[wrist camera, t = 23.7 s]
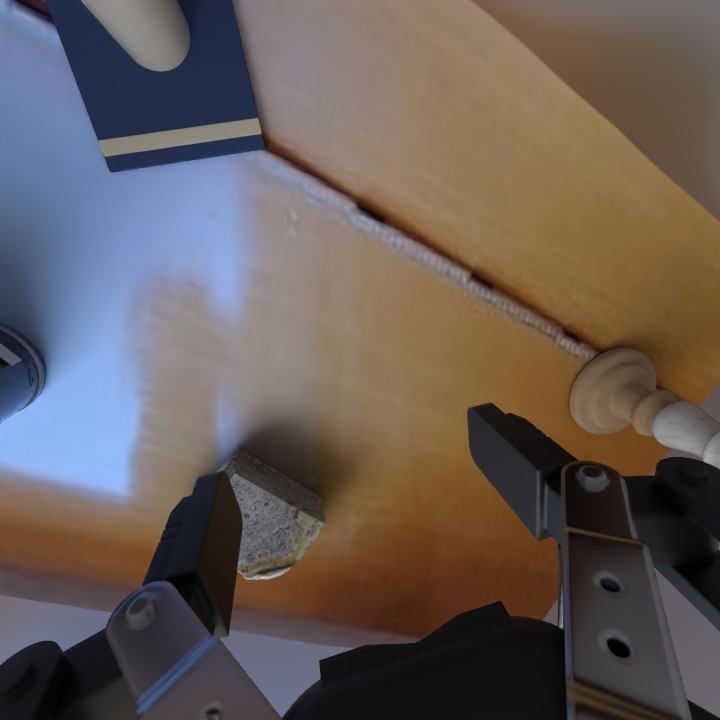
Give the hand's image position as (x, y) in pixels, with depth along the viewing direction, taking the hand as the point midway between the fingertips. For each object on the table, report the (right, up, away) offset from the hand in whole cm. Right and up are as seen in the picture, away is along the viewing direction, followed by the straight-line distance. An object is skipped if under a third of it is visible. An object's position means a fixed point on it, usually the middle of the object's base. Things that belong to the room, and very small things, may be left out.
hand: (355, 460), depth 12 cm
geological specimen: (-12, -14, +33) cm, 38 cm away
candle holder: (+34, -1, +38) cm, 51 cm away
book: (-16, +29, +17) cm, 37 cm away
